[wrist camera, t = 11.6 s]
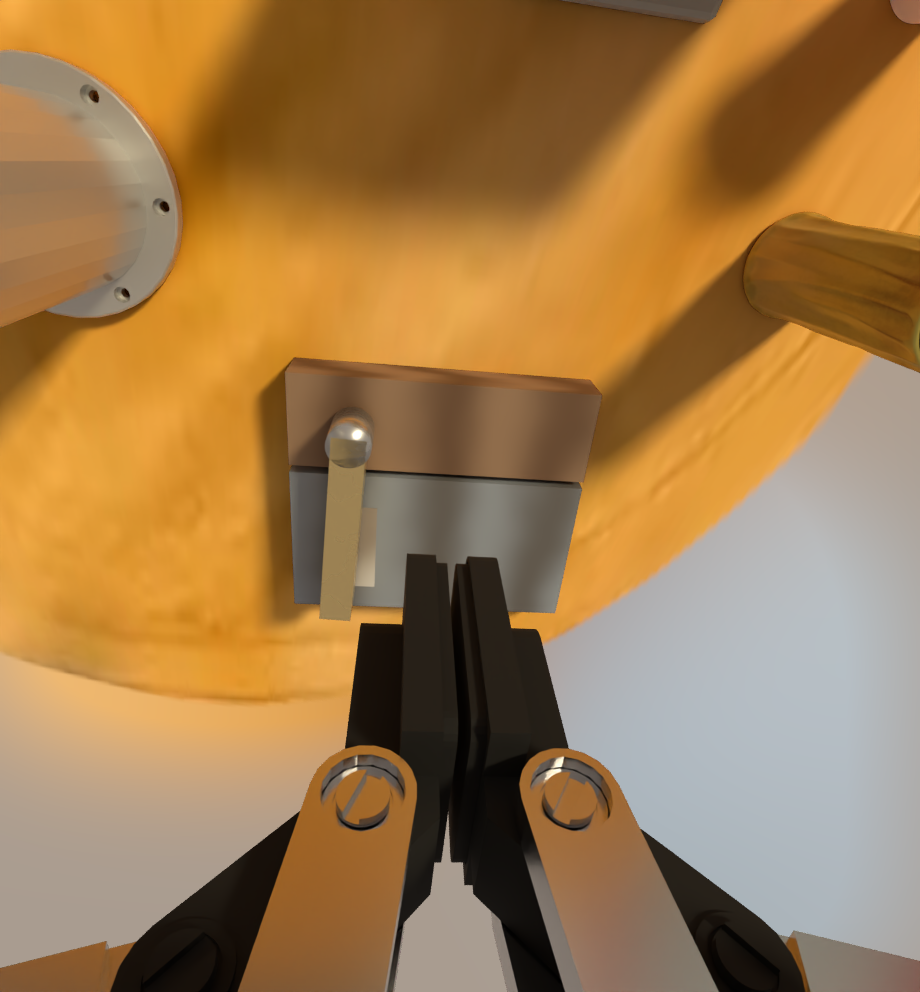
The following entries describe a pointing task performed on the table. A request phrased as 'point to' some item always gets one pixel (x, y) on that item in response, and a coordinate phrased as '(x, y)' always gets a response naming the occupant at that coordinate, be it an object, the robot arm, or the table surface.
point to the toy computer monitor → (663, 8)
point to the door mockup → (443, 474)
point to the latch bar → (344, 508)
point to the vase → (840, 283)
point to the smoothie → (907, 10)
